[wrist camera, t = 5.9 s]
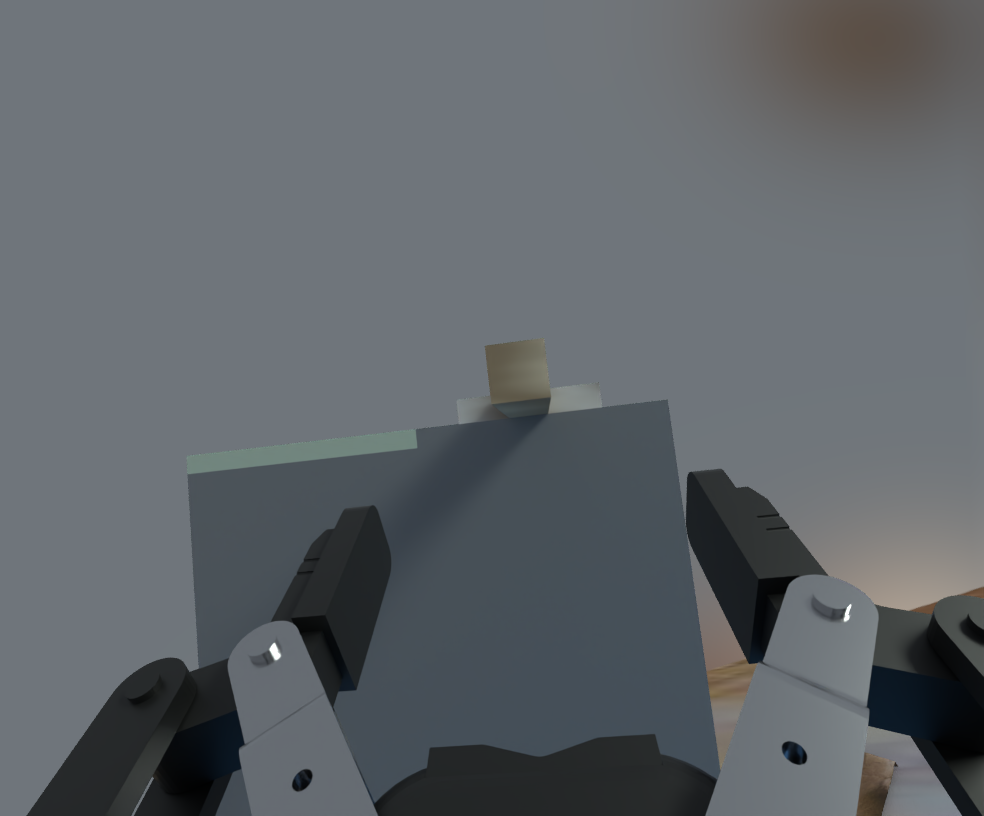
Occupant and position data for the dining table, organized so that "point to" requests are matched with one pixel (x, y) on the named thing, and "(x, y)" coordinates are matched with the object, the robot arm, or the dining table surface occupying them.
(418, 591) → the blue-grey rectangular block
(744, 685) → the dining table surface
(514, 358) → the hammer
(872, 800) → the wooden fragment
